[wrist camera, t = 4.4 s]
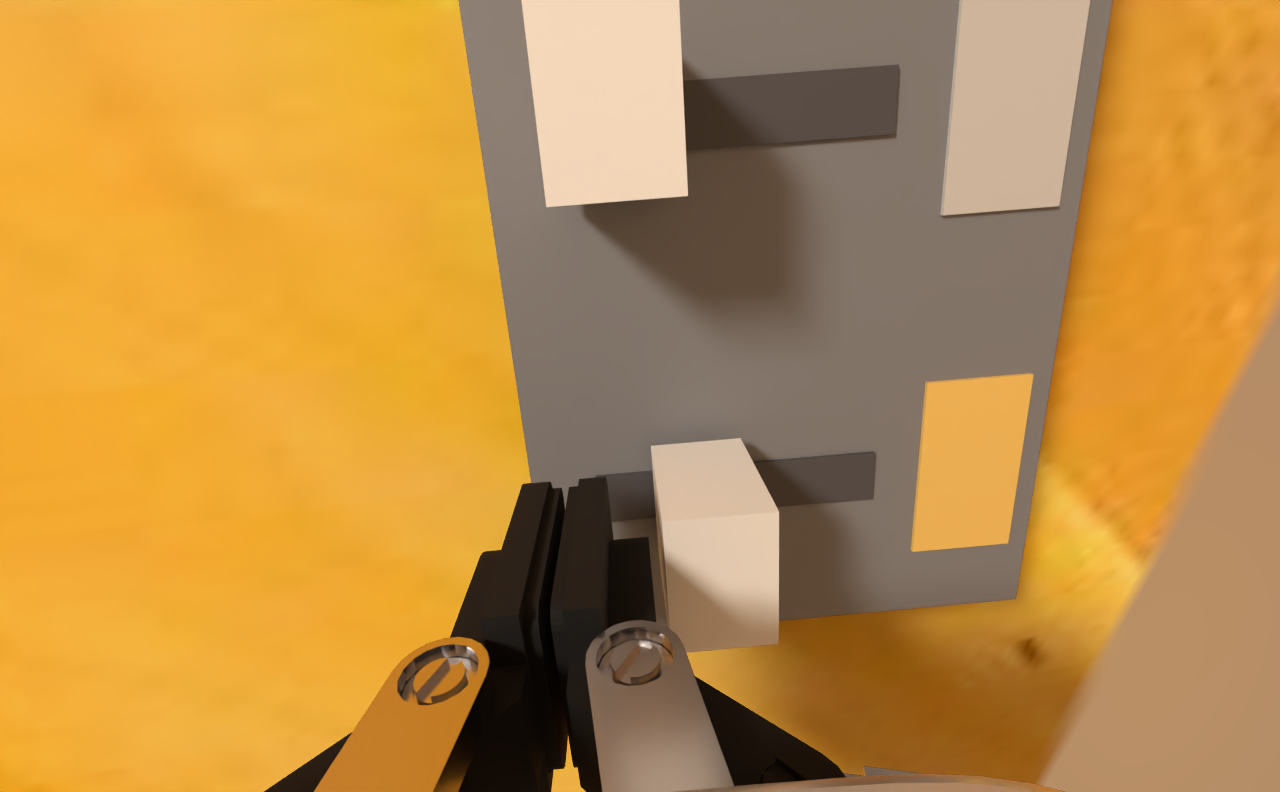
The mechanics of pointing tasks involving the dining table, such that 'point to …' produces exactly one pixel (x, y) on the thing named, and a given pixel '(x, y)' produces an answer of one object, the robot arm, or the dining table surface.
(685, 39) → the switch panel
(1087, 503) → the dining table surface
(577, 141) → the slider middle
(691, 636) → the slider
